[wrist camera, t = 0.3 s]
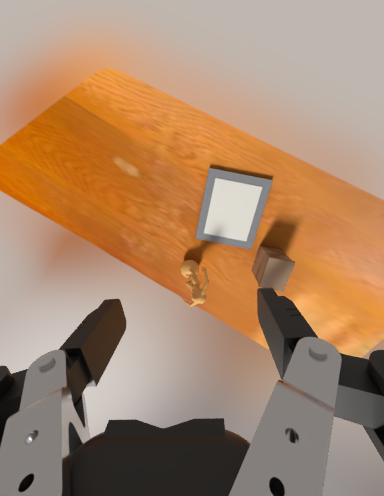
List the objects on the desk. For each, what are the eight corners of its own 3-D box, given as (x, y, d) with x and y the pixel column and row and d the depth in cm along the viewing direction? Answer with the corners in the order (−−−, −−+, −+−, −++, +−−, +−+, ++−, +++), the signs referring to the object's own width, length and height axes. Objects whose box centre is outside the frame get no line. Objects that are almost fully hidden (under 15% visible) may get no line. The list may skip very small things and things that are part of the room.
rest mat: (271, 180, 37) (272, 180, 36) (250, 248, 41) (251, 249, 41) (209, 168, 37) (209, 167, 36) (195, 237, 41) (195, 238, 41)
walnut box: (281, 248, 41) (295, 262, 35) (271, 274, 43) (283, 291, 37) (259, 244, 41) (269, 257, 35) (251, 270, 43) (259, 286, 37)
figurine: (191, 245, 42) (186, 270, 31) (215, 259, 43) (218, 287, 32) (174, 274, 45) (163, 306, 34) (196, 286, 46) (193, 322, 34)
